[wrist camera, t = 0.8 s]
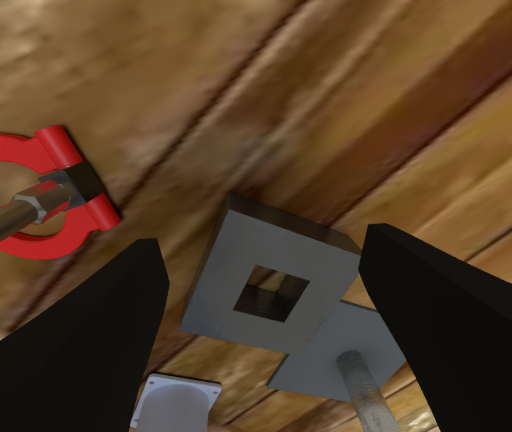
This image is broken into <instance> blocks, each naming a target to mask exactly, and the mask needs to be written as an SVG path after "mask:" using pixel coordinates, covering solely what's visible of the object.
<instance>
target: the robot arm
mask: <svg viewBox="0 0 512 432" xmlns="http://www.w3.org/2000/svg"><path fill="white" fill-rule="evenodd" d="M358 271H359V273H360V276H361V278H362V281H363V283H364V286H365V288H366V290H367V293H368V295H369V297H370V298H371V300H372V302H373V304H374V305H375V307H376V309H377V311H378V312H379V314H380V316H381V318H382V319H383V321H384V323H385V324H386V326H387V328H388V329H389V331H390V333H391V334H392V336H393V338H394V340H395V341H396V343H397V345H398V346H399V348H400V350H401V351H402V353H403V355H404V357H405V358H406V360H407V362H408V364H409V366H410V367H411V369H412V371H413V373H414V375H415V377H416V379H417V381H418V383H419V386H420V388H421V390H422V392H423V394H424V396H425V398H426V400H427V402H428V405H429V407H430V409H431V411H432V413H433V415H434V418H435V420H436V422H437V424H438V427H439V429H440V431H441V432H512V284H511V283H509V282H506V281H504V280H502V279H500V278H498V277H495V276H493V275H491V274H489V273H487V272H485V271H482V270H480V269H478V268H476V267H474V266H472V265H470V264H468V263H466V262H464V261H461V260H459V259H457V258H455V257H453V256H451V255H449V254H447V253H445V252H443V251H441V250H440V249H438V248H436V247H434V246H432V245H430V244H428V243H426V242H424V241H422V240H420V239H418V238H416V237H414V236H412V235H410V234H408V233H406V232H404V231H402V230H400V229H398V228H396V227H394V226H391V225H389V224H386V223H381V224H368V228H367V232H366V236H365V241H364V245H363V249H362V254H361V258H360V262H359V267H358ZM169 284H170V282H169V278H168V275H167V272H166V268H165V265H164V261H163V258H162V254H161V251H160V247H159V244H158V240H157V238H149V239H138V240H137V241H135V242H134V243H132V244H131V245H130V246H128V247H127V248H126V249H124V250H123V251H122V252H121V253H119V254H118V255H117V256H116V257H114V258H113V259H112V260H111V261H109V262H108V263H107V264H106V265H104V266H103V267H102V268H101V269H99V270H98V271H97V272H96V273H94V274H93V275H92V276H91V277H89V278H88V279H87V280H86V281H84V282H83V283H82V284H80V285H79V286H78V287H76V288H75V289H74V290H72V291H71V292H70V293H68V294H67V295H65V296H64V297H63V298H61V299H60V300H59V301H57V302H56V303H55V304H53V305H52V306H51V307H49V308H48V309H47V310H45V311H44V312H42V313H41V314H39V315H38V316H37V317H35V318H34V319H32V320H31V321H29V322H28V323H26V324H25V325H23V326H22V327H20V328H19V329H17V330H16V331H14V332H13V333H11V334H10V335H8V336H7V337H5V338H3V339H2V340H0V432H129V428H130V426H131V427H133V428H136V429H135V432H207V426H208V413H209V411H210V409H211V407H212V406H213V404H214V402H215V400H216V399H217V397H218V395H219V393H220V392H221V389H222V386H221V385H220V384H215V383H209V382H203V381H197V380H191V379H185V378H179V377H173V376H167V375H161V374H155V373H153V374H150V375H149V377H148V380H147V382H146V385H145V387H144V390H143V392H142V395H141V397H140V400H139V402H138V405H137V407H136V410H135V412H134V415H133V411H134V406H135V402H136V398H137V395H138V391H139V388H140V384H141V381H142V378H143V375H144V372H145V369H146V366H147V363H148V360H149V357H150V354H151V351H152V348H153V345H154V342H155V339H156V336H157V332H158V329H159V326H160V323H161V320H162V317H163V314H164V310H165V306H166V301H167V295H168V290H169ZM132 415H133V418H132ZM131 419H132V420H131Z"/></svg>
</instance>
